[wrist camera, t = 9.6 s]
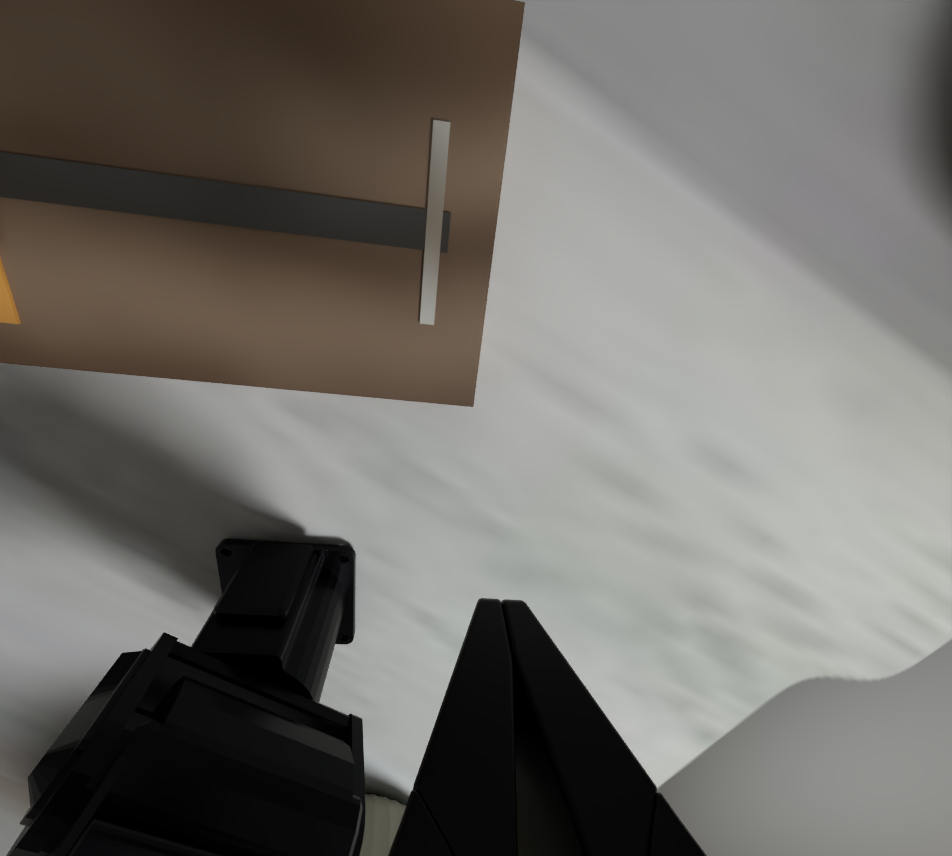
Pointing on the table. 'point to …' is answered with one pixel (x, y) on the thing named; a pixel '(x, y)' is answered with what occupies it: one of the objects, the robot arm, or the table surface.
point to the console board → (254, 189)
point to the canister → (380, 824)
